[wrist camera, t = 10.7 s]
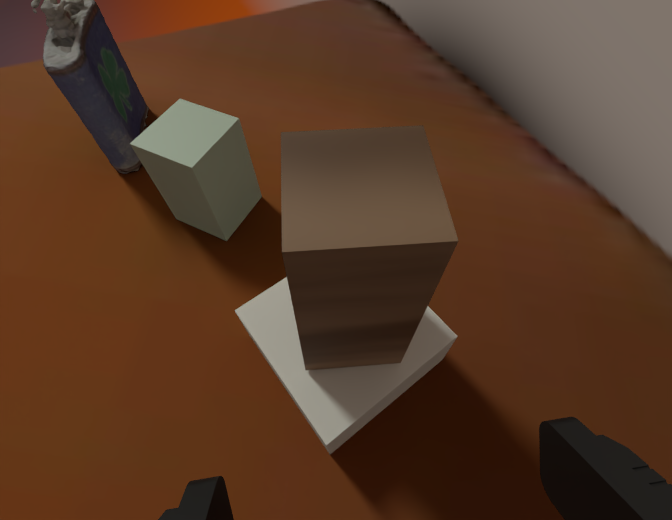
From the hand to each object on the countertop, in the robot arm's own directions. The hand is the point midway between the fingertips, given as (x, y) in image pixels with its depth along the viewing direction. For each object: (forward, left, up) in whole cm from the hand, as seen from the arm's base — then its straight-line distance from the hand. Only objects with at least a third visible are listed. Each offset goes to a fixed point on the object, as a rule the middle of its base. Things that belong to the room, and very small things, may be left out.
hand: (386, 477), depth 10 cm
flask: (+6, +32, -11) cm, 34 cm away
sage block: (+6, +20, -11) cm, 23 cm away
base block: (+5, +6, -11) cm, 13 cm away
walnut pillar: (+5, +5, -7) cm, 10 cm away
